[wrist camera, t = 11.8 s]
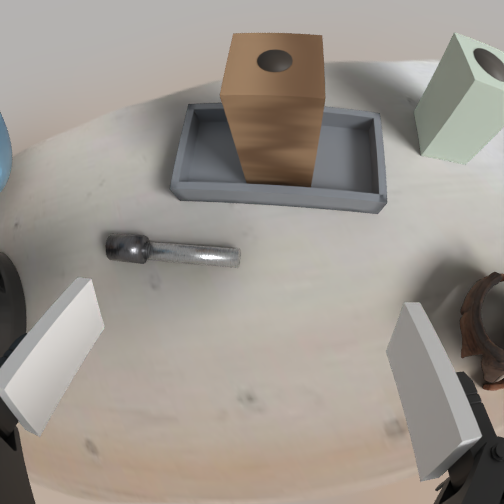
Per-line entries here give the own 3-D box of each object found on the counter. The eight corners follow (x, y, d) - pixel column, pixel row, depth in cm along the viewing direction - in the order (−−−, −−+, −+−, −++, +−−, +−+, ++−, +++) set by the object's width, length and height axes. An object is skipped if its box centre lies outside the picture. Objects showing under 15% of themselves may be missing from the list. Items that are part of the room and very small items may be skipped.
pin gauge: (116, 262, 25) (103, 257, 23) (121, 237, 25) (108, 230, 23) (238, 274, 24) (234, 270, 22) (241, 245, 24) (237, 238, 22)
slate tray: (180, 200, 25) (169, 188, 23) (196, 120, 27) (188, 104, 24) (377, 214, 24) (387, 202, 21) (373, 129, 25) (379, 113, 23)
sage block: (421, 155, 24) (475, 79, 13) (413, 111, 25) (454, 31, 14) (465, 164, 24) (528, 100, 13) (456, 121, 25) (505, 52, 14)
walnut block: (246, 183, 25) (219, 94, 14) (252, 130, 25) (233, 32, 15) (310, 187, 24) (325, 97, 13) (312, 133, 25) (322, 34, 14)
